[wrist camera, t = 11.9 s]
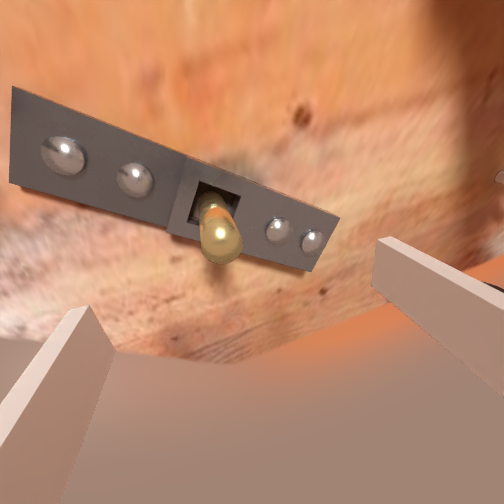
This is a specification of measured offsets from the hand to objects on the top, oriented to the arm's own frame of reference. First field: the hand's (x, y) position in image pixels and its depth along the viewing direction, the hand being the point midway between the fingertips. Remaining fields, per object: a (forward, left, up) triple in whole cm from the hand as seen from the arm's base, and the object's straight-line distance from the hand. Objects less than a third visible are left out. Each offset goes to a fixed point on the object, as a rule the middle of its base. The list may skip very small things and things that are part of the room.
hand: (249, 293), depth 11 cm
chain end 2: (+3, +4, -19) cm, 19 cm away
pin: (0, -1, -19) cm, 19 cm away
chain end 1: (-3, -6, -19) cm, 20 cm away
